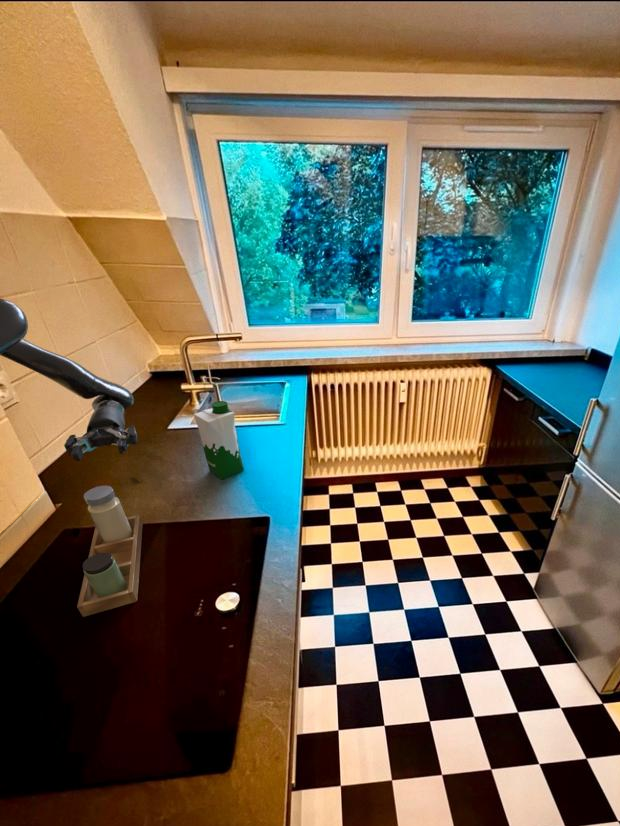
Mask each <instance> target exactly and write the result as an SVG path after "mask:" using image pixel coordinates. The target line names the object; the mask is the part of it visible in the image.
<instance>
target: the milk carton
mask: <svg viewBox="0 0 620 826" xmlns="http://www.w3.org/2000/svg"><path fill="white" fill-rule="evenodd" d="M235 413H236V412H234V411H232V410H231V409H230V408H229V404H228V402H227V401H225V400H218V401H214V402H213V403H211V408H207V409H203V410H202V411H199V412H196V413H193V416H194V419H195V422H196V423H195V424H196V425H197V430H198V432H199V436H200V441H201V444H202V448H203V452H204V455H205V460H206V463H207V466H208V470H209V472H211V473H212V474H213V475H215V476H216V477H217V478H219V479H220V480H225V479H227V478H230V477H231V476H234V475H236V474H238V473H240V472H242V471H245V468H244V464H243V460H242V454H241V451H240V446H239V439H238V435H237V430H236V419H235V417H236V415H235Z"/></svg>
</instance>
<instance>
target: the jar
mask: <svg viewBox="0 0 620 826" xmlns="http://www.w3.org/2000/svg"><path fill="white" fill-rule="evenodd" d="M83 499H84V501H85V503H86V505H88V506H87V511H88V513H89V515H90V517H91V519H92V521H93V524H94V525H95V527H97V530H98V532H99V534H100V536H101V538H102V540H103V542H104V544H106V543H110V542H114V541H118V540H122V539H126V538H131V537H133V535H134V533H133V531H132V529H131V526H130V524H129V522H128V519H127V515H126V513H125V510H124V507H123V506H122V503H121V501H120V499H119V498H118V497H117V496H116V493H115V490H114V488H113V487H112V486H110V485H98V486H96V487H93V488H90V489H89V490H87V491H86V492H84V494H83Z"/></svg>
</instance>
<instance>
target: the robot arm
mask: <svg viewBox="0 0 620 826" xmlns="http://www.w3.org/2000/svg"><path fill="white" fill-rule="evenodd" d="M28 330H29V322H28V319H27V315H26V314H25V312H24V311H23V309H21V307H19V306H18V305H17V304H15V303H14V302H12V301H10V300H7V299H4V298H0V356H1V357H3V358H6V359H8V360H10V361H12V362H14V363H16V364H19V365H21V366H23V367H25V368H26V369H29V370H32V371H34V372H36V373H38V374H39V375H42V376H44V377H45V378H47V379H49V380H51V381H52V382H54V383H56V384H58V385H60V386H61V387H63V388H64V389H66V390H68V391H70V392H71V393H73V394H74V395H76V396H77V397H80V398H82V399H83V400H91V399H94V400H93V401H92V403H91V408H92V409H93V412H92V414H91V416H90V418H89V421H88V424H87V425H86V426H87V427H86V433H84V434H83V435H82V436H77V435H76V434H70V435H69V436H68V438H67V440H66V441H65V443H64V444H63V447H64V449H65V450H66V453H67V455H68V456H71V457H72V458H73V460H74V461H76V462H81V461H82V460H83V456H84V454H85V453H87V452H92V451H94V450H96V449H97V448H101V447H103V446H104V447H105V446H106V447H107V446H117V450H118V453H119V454H120V455H122V454H125V452H126V451H127V450H128V447H129V446H130V445H137V444H138V434H137V431H136V428H135V425H129V426H128V427H127V428H126V429H125V427H126V421H125V420H126V411H127V410H128V409H130V408H131V407H132V406H133V405H134V403H135V398H134V395H133V394H132V393H131V391H130V390H129V389H128V388H126V387H124V386H122V385H120V384H118V383H116V382H113V381H109V380H107V379H104V378H102V377H100V376H98V375H95V374H94V373H92V371H90V370H88V369H87V368H85V367H84V366H83V365H81V364H79V363H78V362H76V361H74V360H72V359H70V358H68V357H65V356H63V355H61V354H59V353H55V352H53V351H50V350H47V349H45V348H42V347H40V346H38V345H36V344H34V343H32V342H30V341H28V340H27V339H24V338H25V337H26V336H27V333H28ZM81 446H82V448H81Z"/></svg>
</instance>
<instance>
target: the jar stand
mask: <svg viewBox="0 0 620 826" xmlns="http://www.w3.org/2000/svg"><path fill="white" fill-rule="evenodd" d="M126 517H127V516H126ZM127 519H128V522H129V524H130V526H131V529H132V531H133V533H134V535H133V537H131V538H126V539H122V540H118V541H114V542H110V543H106V544H104V542H103V540H102V538H101V536H100V534H99V532H98V530H97V527H96V526H95V528H94V532H93V536H92V541H91V544H90V549H89V553H88V558H89V557H91V556H93V555H95V554H98V553H109V554H111V555H112V557H113V558H114V559H115V561H116V563H117V565H118V567H119V569H120V571H121V573H122V575H123V577H124V579H125V581H126V583H127V590H126V591H123V592H119V593H116V594H112V595H109V596H105V597H101V598H98V597H97V595H96V593H95V591H94V590H93V588H92V586H91V584H90V582H89V581H88V579H87V577H86V575H85V574H84V575H83V580H82V584H81V588H80V593H79V597H78V601H77V606H76V608H77V610H78V611H79V613H80V614H81V616H82V617H83V618H85V617H88V616H91V615H95V614H98V613H102V612H105V611H108V610H112V609H115V608H119V607H122V606H125V605H129V604H132V603H136V602H138V593H139V581H140V580H139V579H140V566H141V553H142V552H141V551H142V538H143V537H142V536H143V521H142V518H141V516H140V515H139V514H136V515H132V516H128V517H127ZM88 558H87V559H88Z"/></svg>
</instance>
